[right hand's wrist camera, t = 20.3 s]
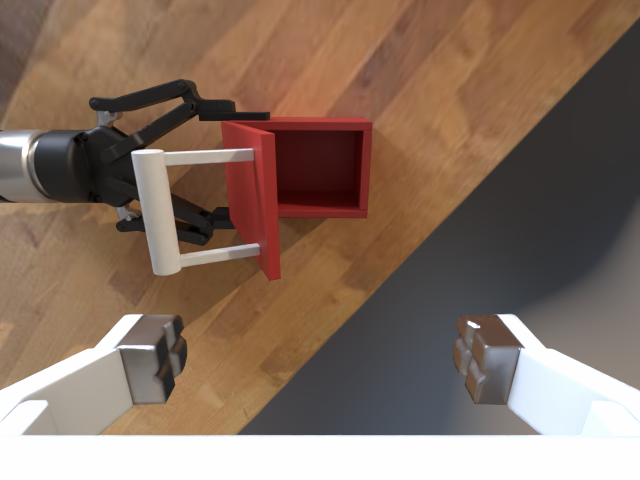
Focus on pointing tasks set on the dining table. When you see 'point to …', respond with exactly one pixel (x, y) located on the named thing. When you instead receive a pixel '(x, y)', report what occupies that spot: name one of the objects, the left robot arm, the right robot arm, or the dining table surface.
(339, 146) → the chest
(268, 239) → the lid
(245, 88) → the dining table surface
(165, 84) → the left robot arm
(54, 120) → the dining table surface
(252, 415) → the dining table surface
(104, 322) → the dining table surface
